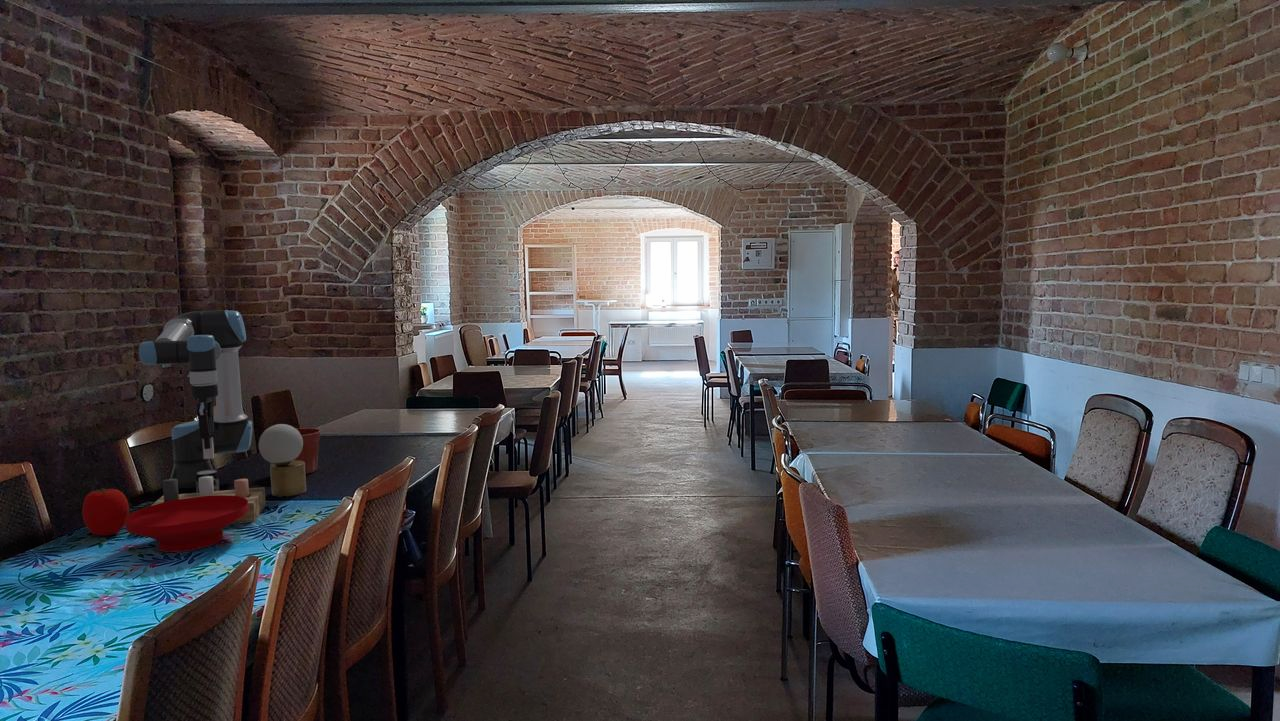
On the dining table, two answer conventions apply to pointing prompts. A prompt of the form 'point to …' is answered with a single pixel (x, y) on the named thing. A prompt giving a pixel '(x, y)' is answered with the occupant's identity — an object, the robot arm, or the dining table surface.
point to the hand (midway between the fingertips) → (209, 458)
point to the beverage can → (208, 473)
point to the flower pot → (309, 448)
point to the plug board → (254, 500)
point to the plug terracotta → (241, 488)
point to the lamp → (284, 459)
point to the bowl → (187, 521)
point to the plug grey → (206, 486)
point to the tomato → (105, 511)
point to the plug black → (170, 490)
